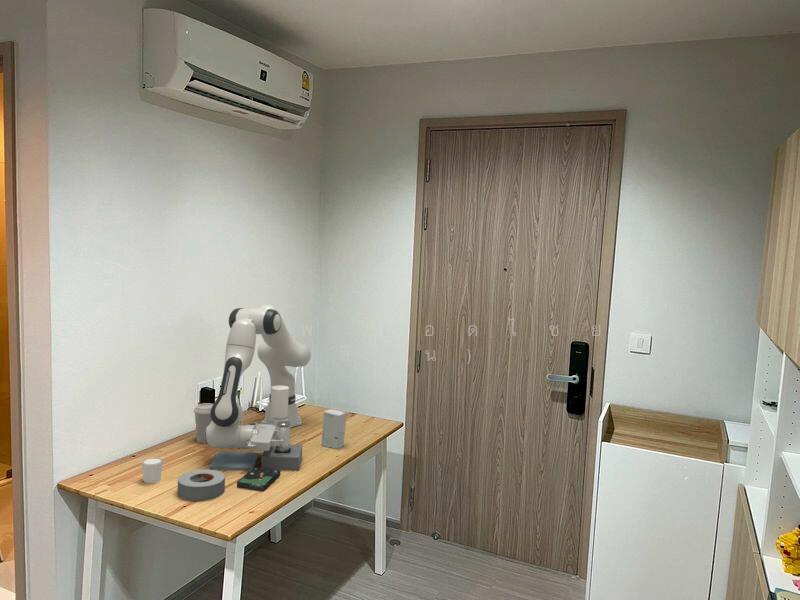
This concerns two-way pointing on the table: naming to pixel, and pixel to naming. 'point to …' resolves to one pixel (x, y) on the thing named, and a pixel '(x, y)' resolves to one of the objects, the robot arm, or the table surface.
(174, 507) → the table surface
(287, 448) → the metal plug
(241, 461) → the rubber mat
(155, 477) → the light grey cylinder
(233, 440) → the robot arm
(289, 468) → the block
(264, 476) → the disk drive
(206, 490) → the tape roll
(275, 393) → the cylindrical container
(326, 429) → the skincare box
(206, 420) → the coffee cup
